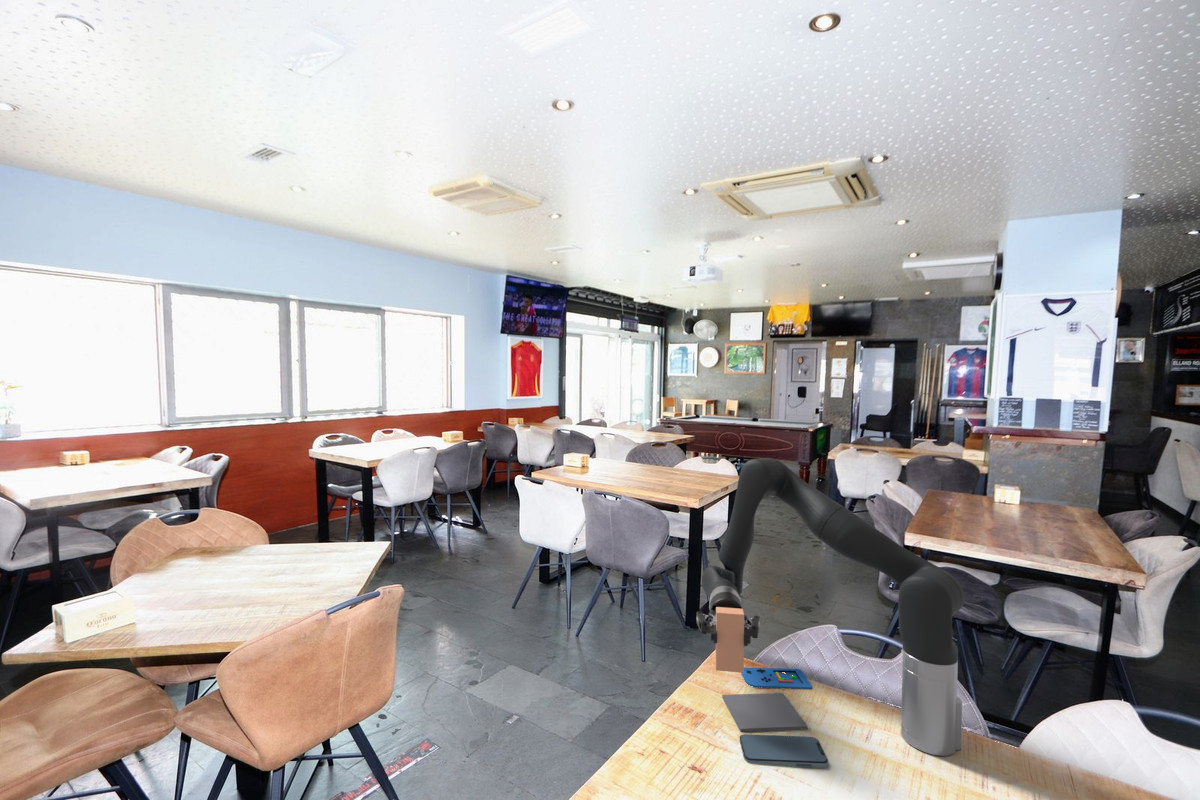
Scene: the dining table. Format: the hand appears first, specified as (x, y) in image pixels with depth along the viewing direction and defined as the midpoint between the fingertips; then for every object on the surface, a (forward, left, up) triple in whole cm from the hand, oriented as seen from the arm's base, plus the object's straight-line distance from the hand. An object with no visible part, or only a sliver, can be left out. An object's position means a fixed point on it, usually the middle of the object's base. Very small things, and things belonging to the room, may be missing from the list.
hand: (730, 639), depth 108 cm
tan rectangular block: (-1, -2, -7) cm, 7 cm away
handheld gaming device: (-17, -17, -18) cm, 30 cm away
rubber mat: (-9, -4, -18) cm, 20 cm away
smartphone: (-8, +8, -19) cm, 22 cm away
